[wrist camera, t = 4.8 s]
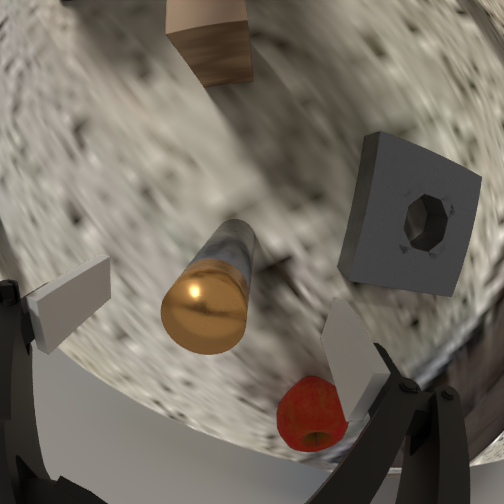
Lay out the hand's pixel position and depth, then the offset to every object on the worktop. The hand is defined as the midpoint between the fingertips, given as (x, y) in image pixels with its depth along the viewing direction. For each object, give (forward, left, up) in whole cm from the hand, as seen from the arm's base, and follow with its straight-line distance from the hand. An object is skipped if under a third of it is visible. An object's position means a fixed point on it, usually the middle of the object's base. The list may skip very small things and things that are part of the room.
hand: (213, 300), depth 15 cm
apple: (+12, -17, -14) cm, 25 cm away
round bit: (0, 0, -13) cm, 13 cm away
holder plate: (+18, +6, -13) cm, 23 cm away
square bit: (-4, +18, -13) cm, 23 cm away
